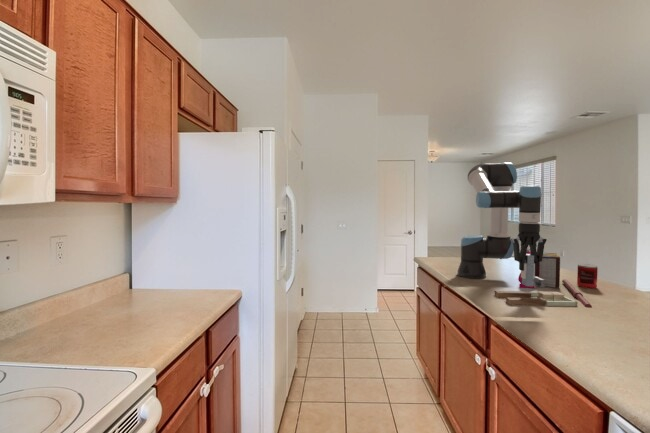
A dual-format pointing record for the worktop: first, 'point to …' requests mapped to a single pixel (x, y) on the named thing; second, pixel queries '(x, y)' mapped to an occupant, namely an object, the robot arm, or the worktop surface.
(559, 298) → the light wooden cube
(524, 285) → the pepper mill
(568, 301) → the tray
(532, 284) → the t-shaped gray bracket
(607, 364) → the worktop surface
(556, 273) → the protein box
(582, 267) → the canned food
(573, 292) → the rolling pin
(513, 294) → the groove board
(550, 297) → the beige cube
